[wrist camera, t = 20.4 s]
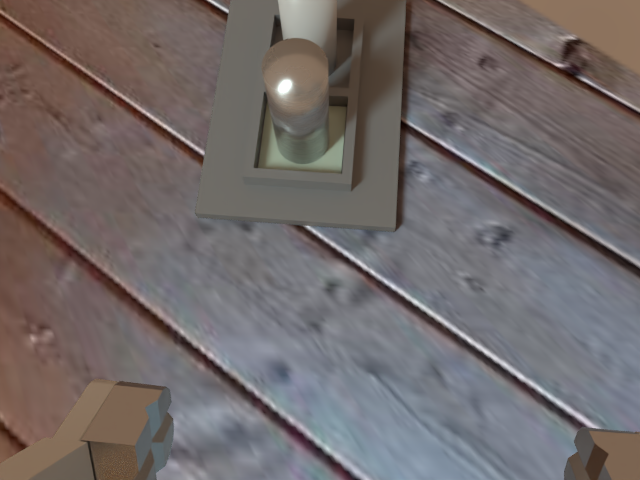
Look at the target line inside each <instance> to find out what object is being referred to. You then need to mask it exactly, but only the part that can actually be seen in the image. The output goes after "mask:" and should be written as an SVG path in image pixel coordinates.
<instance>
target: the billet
mask: <svg viewBox="0 0 640 480" xmlns="http://www.w3.org/2000/svg"><path fill="white" fill-rule="evenodd" d="M262 74H263V79H264V84H265V89H266V94H267V99H268V104H269V109H270V113H271V118H272V123H273V128H274V133H275V138H276V143H277V147H278V150H279V152H280V153H281V155H282V156H283V157H284V158H285V159H287V160H288V161H290V162H293V163H296V164H309V163H312V162H315V161H317V160H318V159H320V158H321V157H322V156H323V155H324V154H325V153H326V151H327V149H328V147H329V141H330V137H329V81H328V60H327V56H326V54H325V52H324V51H323V50H322V49H321V47H319V46H318V45H317V44H315V43H314V42H312V41H310V40H307V39H302V38H289V39H285V40H282V41H280V42H278V43H276V44H274V45H273V46H272V47H271V48H270V49H269V50H268V51H267V52H266V54H265V56H264V58H263V60H262Z"/></svg>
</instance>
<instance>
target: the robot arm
mask: <svg viewBox="0 0 640 480" xmlns="http://www.w3.org/2000/svg"><path fill="white" fill-rule="evenodd" d="M170 404H171V394H170V389H169V388H167V387H163V386H155V385H147V384H139V383H131V382H123V381H120V382H117V381H110V380H102V379H95V380H93V381H92V382H90V383H89V384H88V386H87V387H86V389H85V390H84V392H83V393H82V395H81V396H80V398H79V399H78V401H77V402H76V403H75V405H74V406H73V408H72V409H71V411H70V412H69V414H68V415H67V417H66V418H65V420H64V421H63V423H62V424H61V425H60V427H59V428H58V430H57V431H56V433H55V434H54V436H53V437H52V438H43V439H41V440H39V441H38V442H36V443H34V444H33V445H31V446H29V447H27V448H26V449H24V450H22V451H21V452H19V453H17V454H15V455H14V456H12V457H10V458H8V459H7V460H5V461H3V462H2V463H0V480H157V479H156V473H157V472H158V471H159V470H161V469H162V468H163V467H165V465H166V463H167V460H168V457H169V455H170V451H171V447H172V442H173V434H174V423H173V418H172V417H171V416H170V415H169V413H168V412H167V411H168V409H169V406H170ZM574 443H575V446H576V448H577V451H578V452H577V453H575V454H574V455H572V456H571V457H569V458H568V460H567V464H566V467H565V470H564V480H640V432H629V431H618V430H607V429H596V428H585V427H582V428H581V429H580V430H579V431H578V432H577V435H576V437H575V440H574Z"/></svg>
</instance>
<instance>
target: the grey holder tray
mask: <svg viewBox="0 0 640 480" xmlns="http://www.w3.org/2000/svg"><path fill="white" fill-rule="evenodd" d="M405 15H406V0H231V2H230V8H229V14H228V20H227V25H226V31H225V37H224V43H223V49H222V55H221V61H220V67H219V73H218V79H217V85H216V90H215V96H214V102H213V108H212V114H211V120H210V126H209V132H208V138H207V144H206V150H205V155H204V161H203V167H202V173H201V179H200V185H199V191H198V197H197V203H196V209H195V214H196V216H197V217H198V218H211V219H224V220H238V221H251V222H265V223H279V224H292V225H306V226H320V227H333V228H347V229H361V230H374V231H388V232H394V231H395V228H396V208H397V187H398V165H399V144H400V122H401V101H402V80H403V58H404V37H405ZM289 38H302V39H307V40H310V41H312V42H314V43H315V44H317V45H318V46H319V47H321V49H322V50H323V51H324V52H325V54H326V56H327V60H328V81H329V137H330V141H329V147H328V149H327V151H326V153H325V154H324V155H323V156H322V157H321V158H320V159H318V160H317V161H315V162H312V163H309V164H296V163H293V162H290V161H288V160H287V159H285V158H284V157H283V156H282V155H281V153H280V152H279V150H278V147H277V143H276V138H275V133H274V128H273V123H272V118H271V113H270V109H269V104H268V99H267V94H266V89H265V84H264V79H263V74H262V60H263V58H264V56H265V54H266V52H267V51H268V50H269V49H270V48H271V47H272V46H273V45H274V44H276V43H278V42H280V41H282V40H285V39H289Z"/></svg>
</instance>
